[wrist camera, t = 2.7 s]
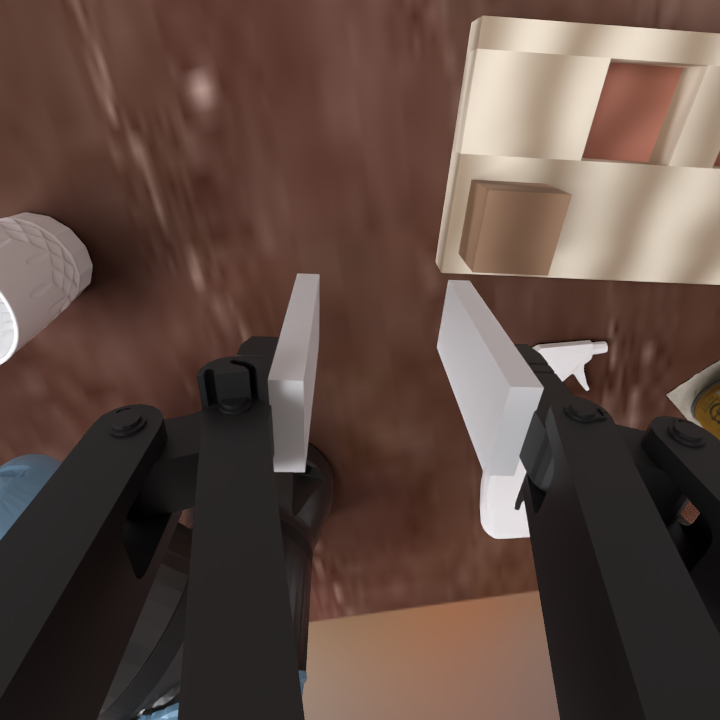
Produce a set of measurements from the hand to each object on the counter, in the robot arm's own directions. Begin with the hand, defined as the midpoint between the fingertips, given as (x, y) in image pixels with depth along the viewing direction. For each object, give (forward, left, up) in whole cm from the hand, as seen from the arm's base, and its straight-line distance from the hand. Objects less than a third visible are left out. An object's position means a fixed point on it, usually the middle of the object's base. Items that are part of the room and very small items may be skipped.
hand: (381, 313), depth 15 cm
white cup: (-24, -5, -19) cm, 31 cm away
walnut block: (+10, 0, -16) cm, 19 cm away
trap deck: (+21, +3, -19) cm, 28 cm away
